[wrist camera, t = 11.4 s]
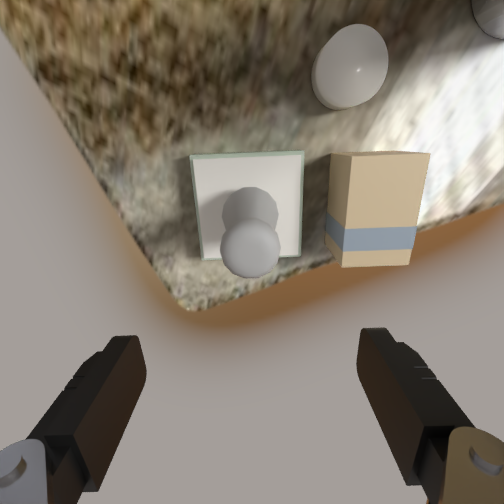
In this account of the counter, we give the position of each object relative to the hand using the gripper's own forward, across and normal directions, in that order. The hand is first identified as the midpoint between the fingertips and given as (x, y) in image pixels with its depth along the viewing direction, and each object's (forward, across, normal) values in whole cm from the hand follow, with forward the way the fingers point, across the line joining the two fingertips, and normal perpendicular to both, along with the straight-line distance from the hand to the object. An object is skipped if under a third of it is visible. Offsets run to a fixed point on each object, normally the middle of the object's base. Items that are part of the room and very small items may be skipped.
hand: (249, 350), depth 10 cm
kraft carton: (+25, -13, 0) cm, 28 cm away
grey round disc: (+25, -10, -13) cm, 30 cm away
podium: (+25, 0, 0) cm, 25 cm away
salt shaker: (+22, 0, 0) cm, 22 cm away
